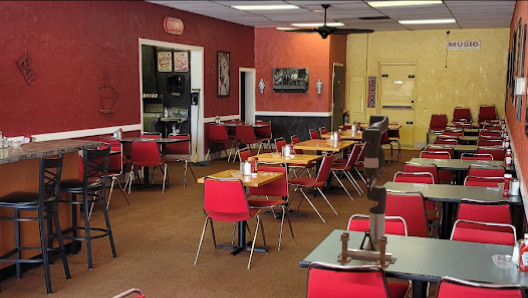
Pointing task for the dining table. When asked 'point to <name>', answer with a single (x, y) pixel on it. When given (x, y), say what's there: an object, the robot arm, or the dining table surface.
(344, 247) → the stand
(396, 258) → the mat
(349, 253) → the brown wooden bar
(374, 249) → the black triangular frame
